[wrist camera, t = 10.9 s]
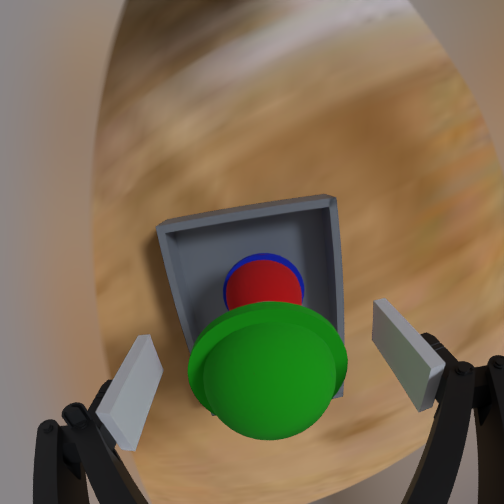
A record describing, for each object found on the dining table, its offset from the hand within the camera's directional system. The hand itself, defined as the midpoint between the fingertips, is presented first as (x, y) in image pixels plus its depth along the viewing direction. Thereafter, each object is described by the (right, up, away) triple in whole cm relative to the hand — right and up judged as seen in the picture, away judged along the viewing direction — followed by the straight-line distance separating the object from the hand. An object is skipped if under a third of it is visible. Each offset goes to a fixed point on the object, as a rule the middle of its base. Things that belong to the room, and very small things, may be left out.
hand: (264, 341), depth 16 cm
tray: (0, 0, +10) cm, 10 cm away
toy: (0, +2, +9) cm, 9 cm away
